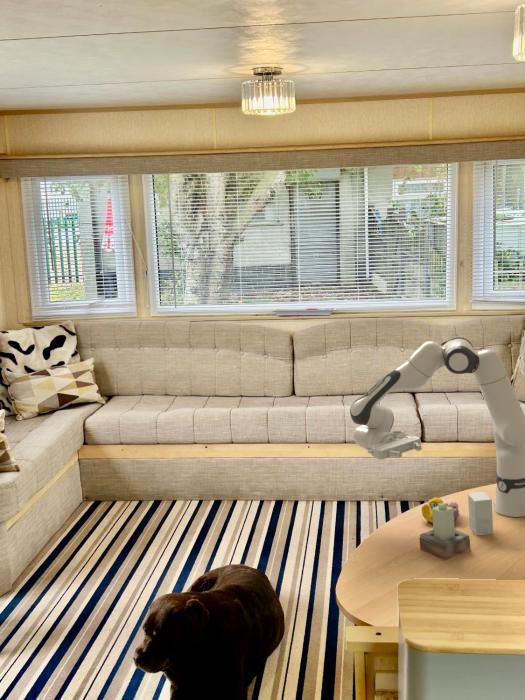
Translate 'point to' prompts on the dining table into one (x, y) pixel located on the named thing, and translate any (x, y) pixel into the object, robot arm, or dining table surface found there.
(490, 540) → the dining table surface
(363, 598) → the dining table surface
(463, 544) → the gray square frame
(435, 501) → the duckling
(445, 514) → the tower brick
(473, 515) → the small box
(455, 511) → the video game controller
